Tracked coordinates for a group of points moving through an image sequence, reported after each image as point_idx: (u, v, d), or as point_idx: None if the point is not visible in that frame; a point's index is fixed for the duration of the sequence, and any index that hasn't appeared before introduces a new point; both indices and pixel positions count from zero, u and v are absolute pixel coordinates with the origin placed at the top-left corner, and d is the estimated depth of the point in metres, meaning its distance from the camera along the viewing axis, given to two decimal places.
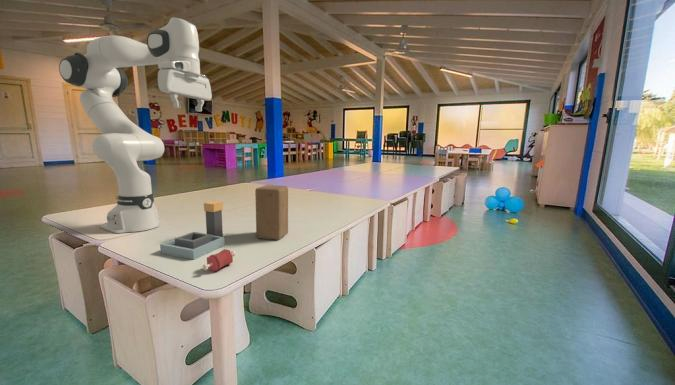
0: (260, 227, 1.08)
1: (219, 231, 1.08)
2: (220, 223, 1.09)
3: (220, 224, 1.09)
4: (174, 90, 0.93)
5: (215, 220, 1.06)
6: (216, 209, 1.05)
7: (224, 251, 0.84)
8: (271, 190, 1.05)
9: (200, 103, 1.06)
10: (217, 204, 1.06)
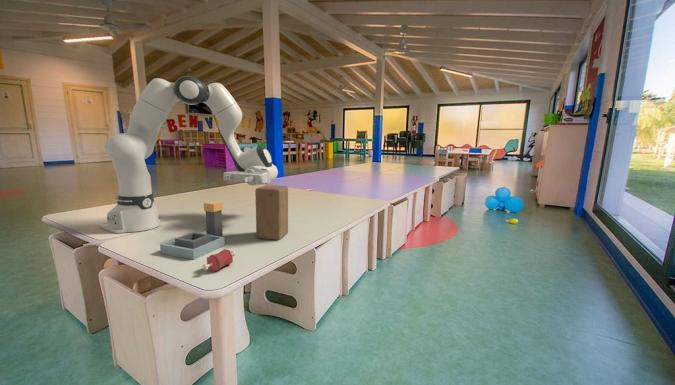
0: (260, 227, 1.08)
1: (219, 231, 1.08)
2: (220, 223, 1.09)
3: (220, 224, 1.09)
4: (256, 182, 1.20)
5: (215, 220, 1.06)
6: (216, 209, 1.05)
7: (224, 251, 0.84)
8: (271, 190, 1.05)
9: None
10: (217, 204, 1.06)
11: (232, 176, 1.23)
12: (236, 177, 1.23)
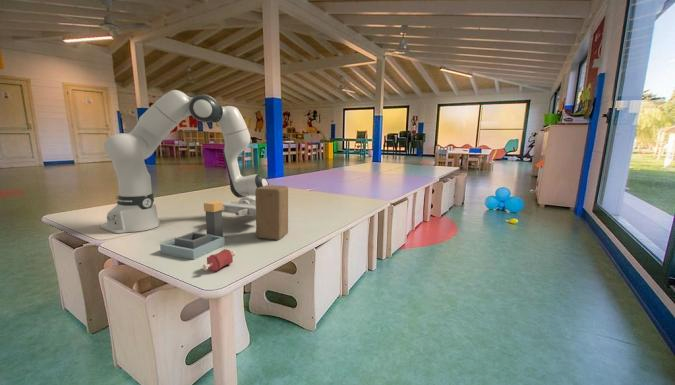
0: (260, 227, 1.08)
1: (219, 231, 1.08)
2: (220, 223, 1.09)
3: (220, 224, 1.09)
4: None
5: (215, 220, 1.06)
6: (216, 209, 1.05)
7: (224, 251, 0.84)
8: (271, 190, 1.05)
9: (222, 210, 1.20)
10: (217, 204, 1.06)
11: (226, 208, 1.21)
12: (230, 209, 1.21)
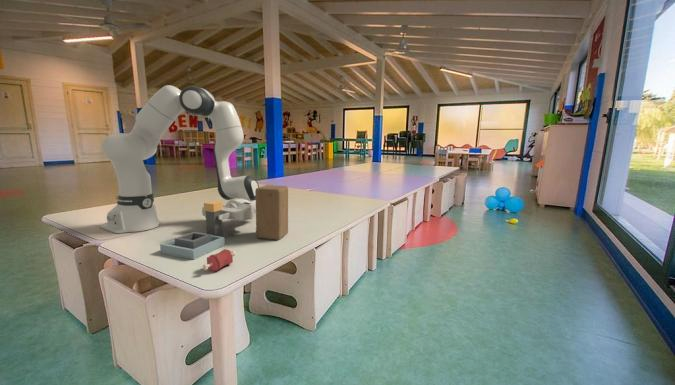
0: (260, 227, 1.08)
1: (219, 231, 1.08)
2: (220, 223, 1.09)
3: (220, 224, 1.09)
4: None
5: (214, 220, 1.06)
6: (216, 209, 1.05)
7: (224, 251, 0.84)
8: (271, 190, 1.05)
9: None
10: (217, 204, 1.06)
11: None
12: None
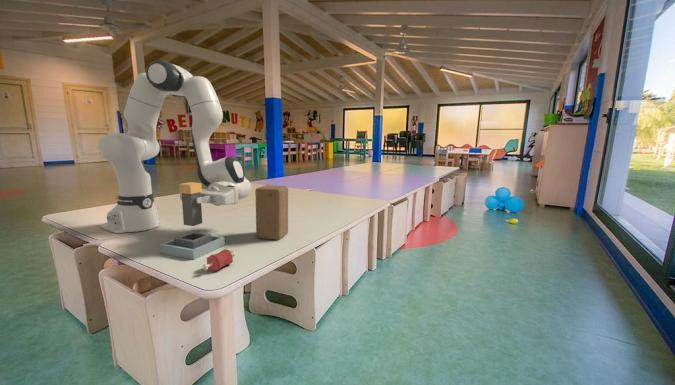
0: (260, 227, 1.08)
1: (198, 216, 0.95)
2: (199, 207, 0.95)
3: (199, 208, 0.95)
4: (218, 204, 0.97)
5: (192, 203, 0.92)
6: (194, 191, 0.92)
7: (224, 251, 0.84)
8: (271, 190, 1.05)
9: None
10: (195, 185, 0.93)
11: None
12: None
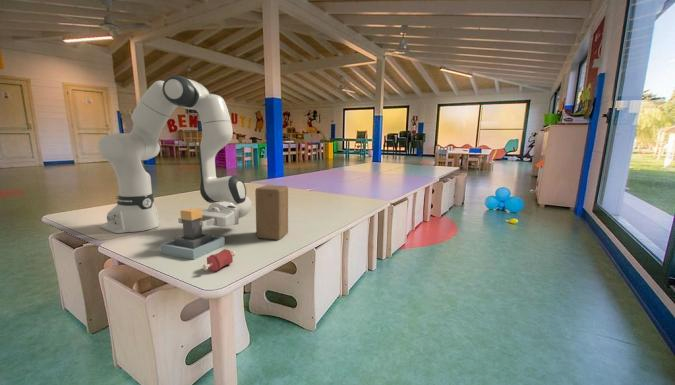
0: (260, 227, 1.08)
1: None
2: (200, 232, 0.97)
3: (200, 234, 0.97)
4: None
5: (193, 229, 0.94)
6: (194, 217, 0.94)
7: (224, 251, 0.84)
8: (271, 190, 1.05)
9: None
10: (195, 211, 0.94)
11: None
12: None
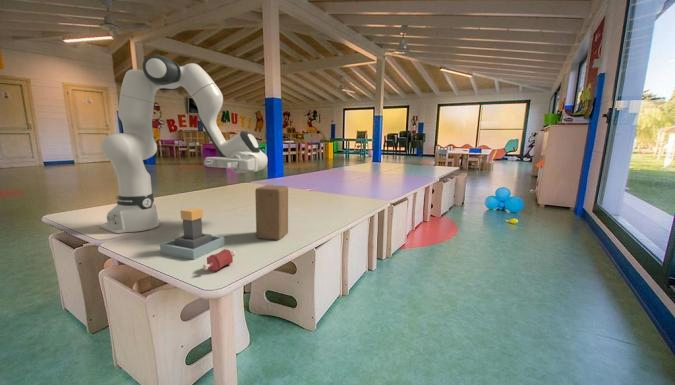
0: (260, 227, 1.08)
1: None
2: (200, 233, 0.97)
3: (200, 234, 0.97)
4: (241, 169, 1.07)
5: (193, 229, 0.94)
6: (194, 217, 0.94)
7: (224, 251, 0.84)
8: (271, 190, 1.05)
9: (209, 163, 1.08)
10: (196, 211, 0.94)
11: (215, 161, 1.10)
12: (219, 163, 1.10)
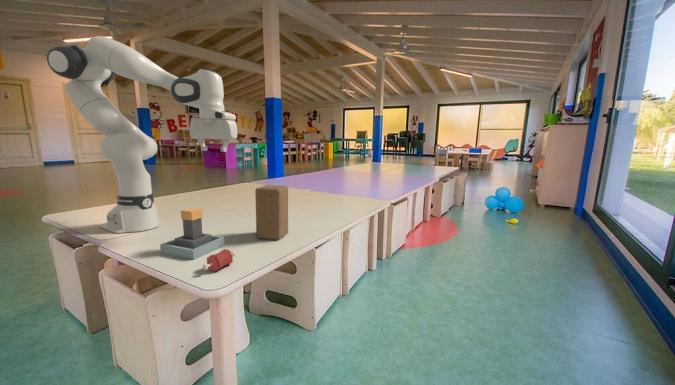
0: (260, 227, 1.08)
1: None
2: (200, 233, 0.97)
3: (200, 234, 0.97)
4: None
5: (193, 229, 0.94)
6: (194, 217, 0.94)
7: (224, 251, 0.84)
8: (271, 190, 1.05)
9: (203, 143, 1.12)
10: (196, 211, 0.94)
11: None
12: None
